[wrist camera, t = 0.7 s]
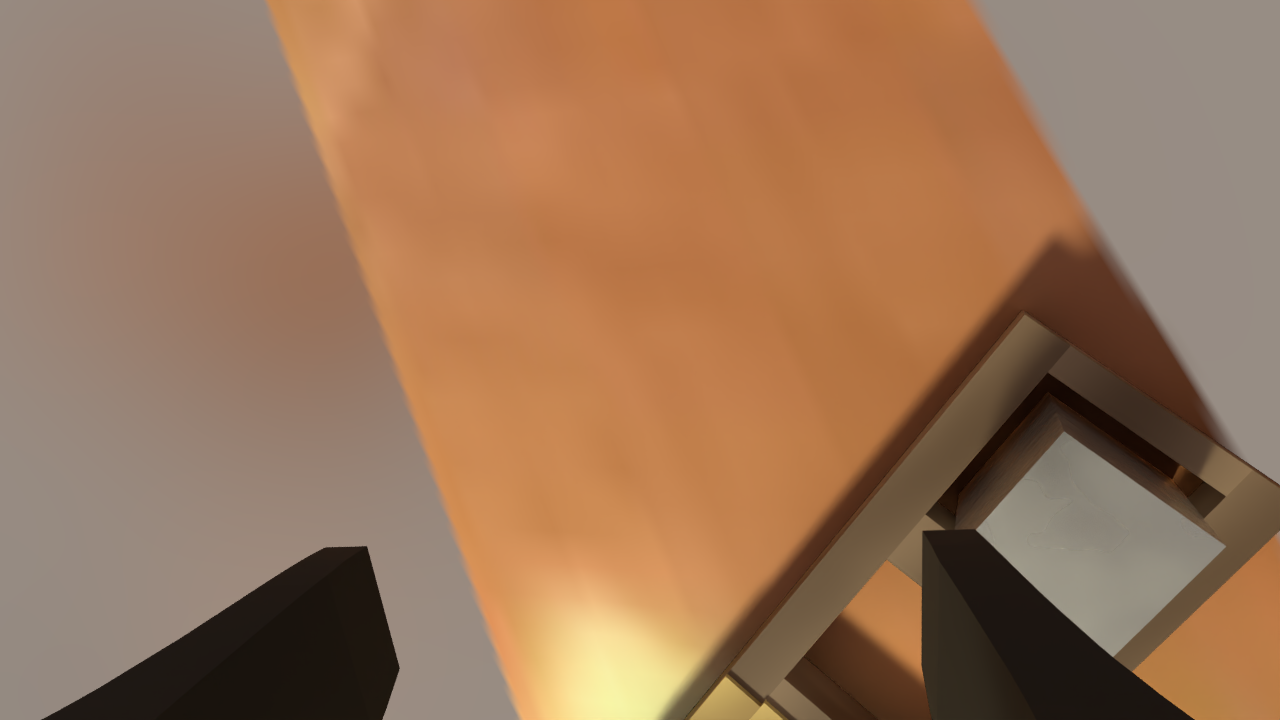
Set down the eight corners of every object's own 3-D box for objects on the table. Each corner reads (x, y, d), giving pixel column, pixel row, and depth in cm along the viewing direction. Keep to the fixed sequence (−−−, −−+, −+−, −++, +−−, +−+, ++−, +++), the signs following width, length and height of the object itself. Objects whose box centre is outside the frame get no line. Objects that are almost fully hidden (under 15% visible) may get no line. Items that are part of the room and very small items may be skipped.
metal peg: (1172, 479, 24) (1226, 546, 19) (1074, 580, 25) (1097, 671, 20) (1047, 391, 25) (1063, 431, 20) (958, 493, 26) (951, 557, 21)
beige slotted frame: (1280, 485, 23) (1308, 508, 21) (817, 938, 30) (804, 988, 28) (1022, 309, 25) (1024, 314, 23) (640, 772, 32) (616, 808, 30)
